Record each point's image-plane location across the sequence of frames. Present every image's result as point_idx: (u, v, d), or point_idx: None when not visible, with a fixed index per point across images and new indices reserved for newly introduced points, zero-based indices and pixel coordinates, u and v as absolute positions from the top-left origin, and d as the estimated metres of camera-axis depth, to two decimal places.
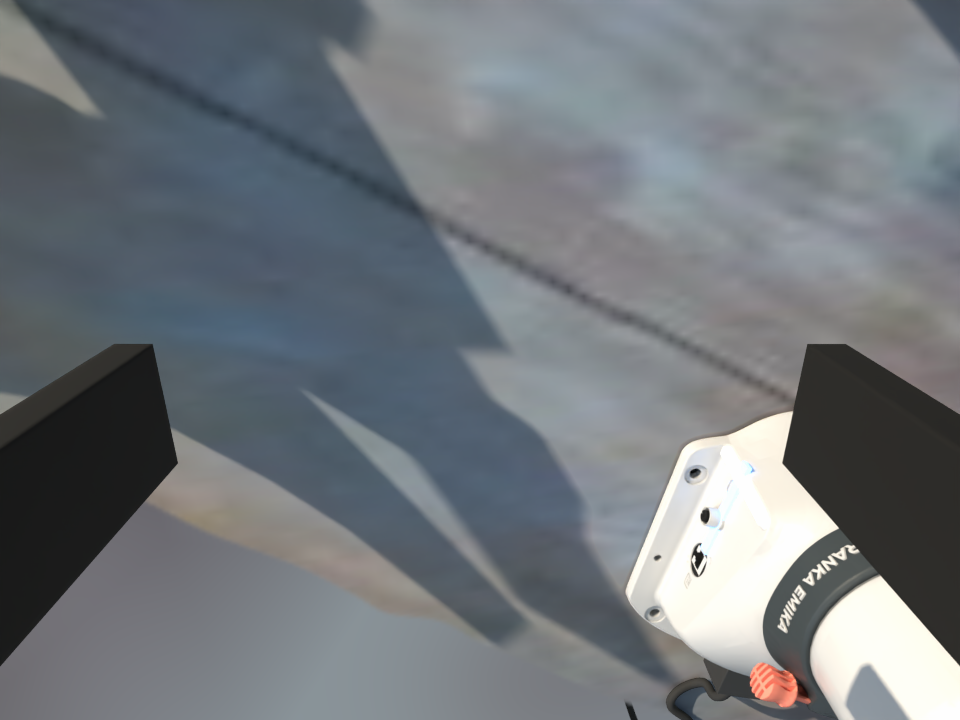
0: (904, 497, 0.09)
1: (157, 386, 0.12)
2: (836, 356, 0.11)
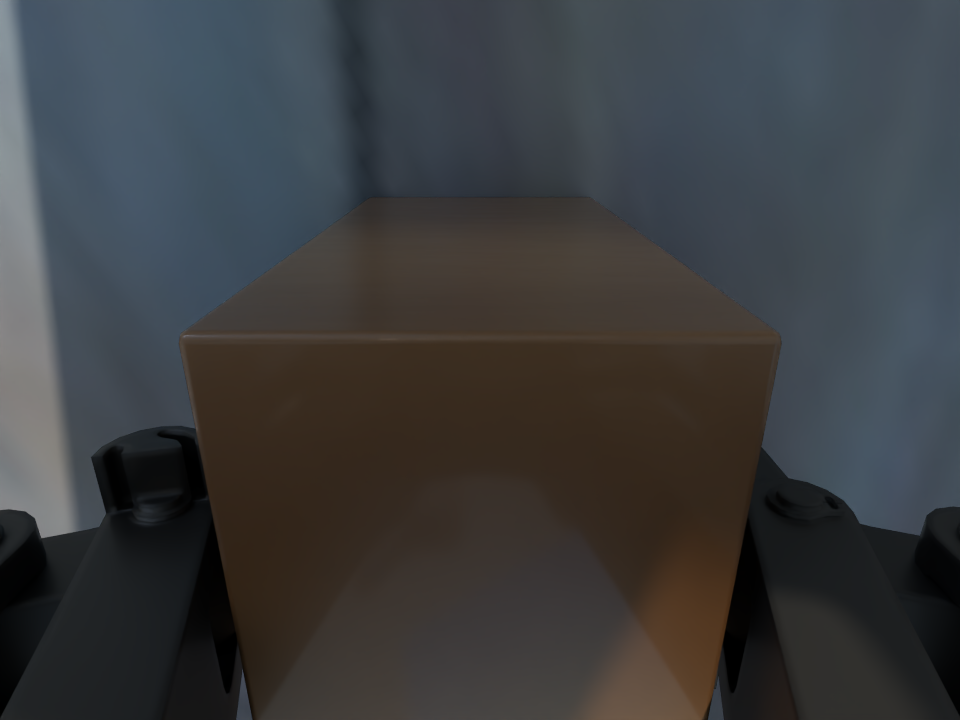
0: None
1: None
2: None
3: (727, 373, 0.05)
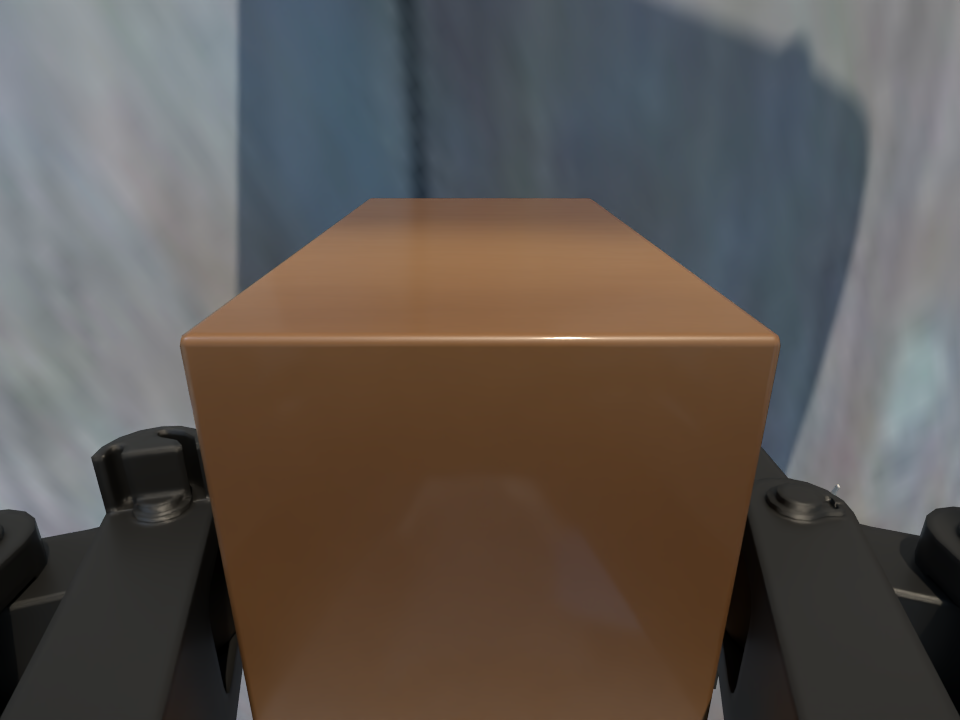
0: None
1: None
2: None
3: (725, 374, 0.05)
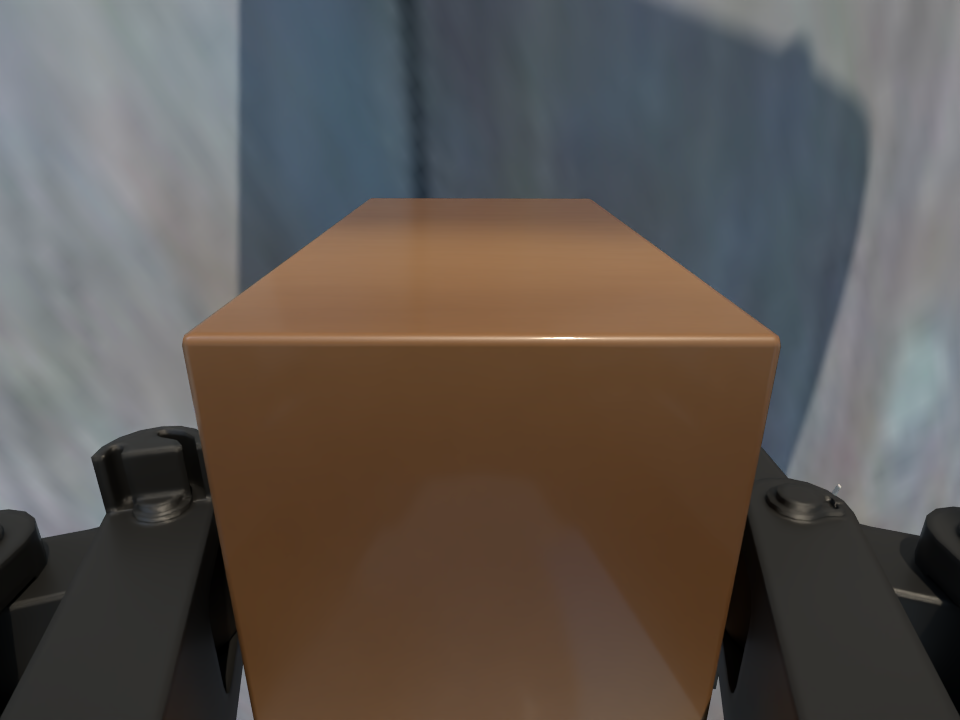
0: None
1: None
2: None
3: (726, 374, 0.05)
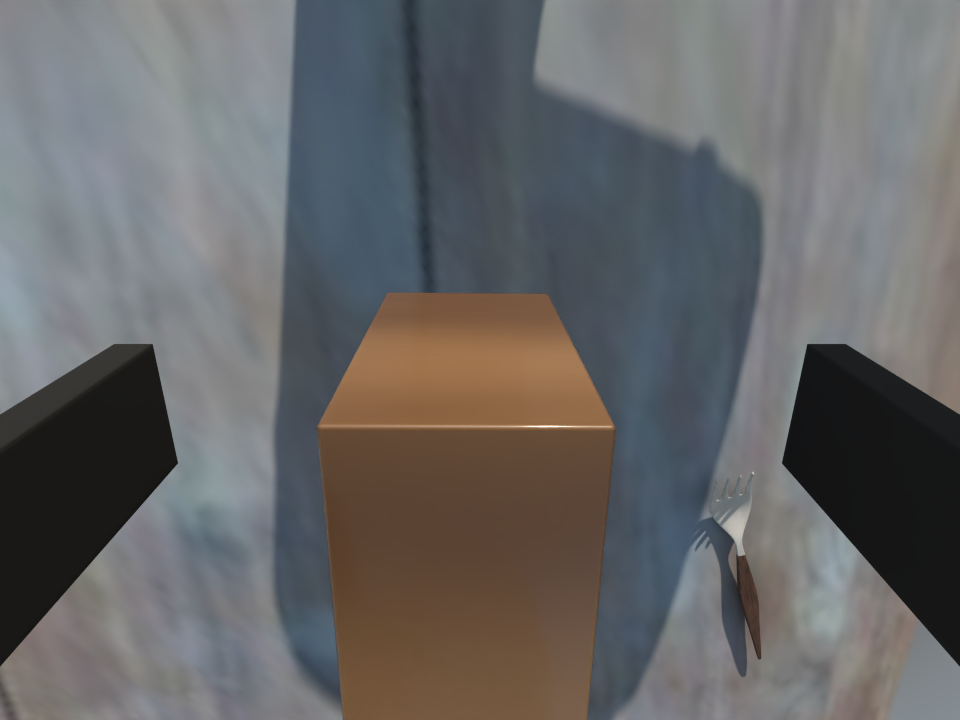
0: (904, 497, 0.09)
1: (157, 387, 0.12)
2: (836, 356, 0.11)
3: (589, 444, 0.10)
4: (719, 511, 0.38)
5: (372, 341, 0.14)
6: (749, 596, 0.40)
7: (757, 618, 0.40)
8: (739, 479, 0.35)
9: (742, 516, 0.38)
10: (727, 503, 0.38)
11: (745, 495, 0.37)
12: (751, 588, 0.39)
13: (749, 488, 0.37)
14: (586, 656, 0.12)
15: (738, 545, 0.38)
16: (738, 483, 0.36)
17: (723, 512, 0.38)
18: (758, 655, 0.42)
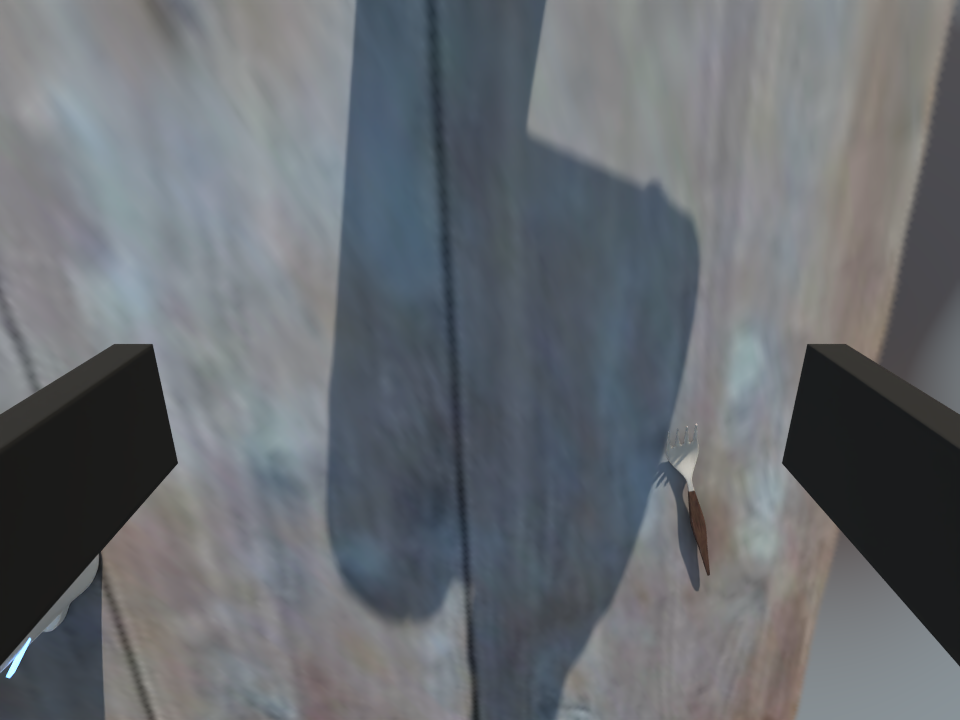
0: (904, 497, 0.09)
1: (157, 386, 0.12)
2: (836, 356, 0.11)
3: None
4: (673, 455, 0.49)
5: None
6: (698, 524, 0.51)
7: (705, 541, 0.51)
8: (686, 429, 0.46)
9: (692, 460, 0.49)
10: (679, 449, 0.48)
11: (693, 443, 0.48)
12: (700, 517, 0.50)
13: (695, 437, 0.47)
14: None
15: (689, 482, 0.49)
16: (686, 432, 0.47)
17: (677, 456, 0.49)
18: (707, 572, 0.53)
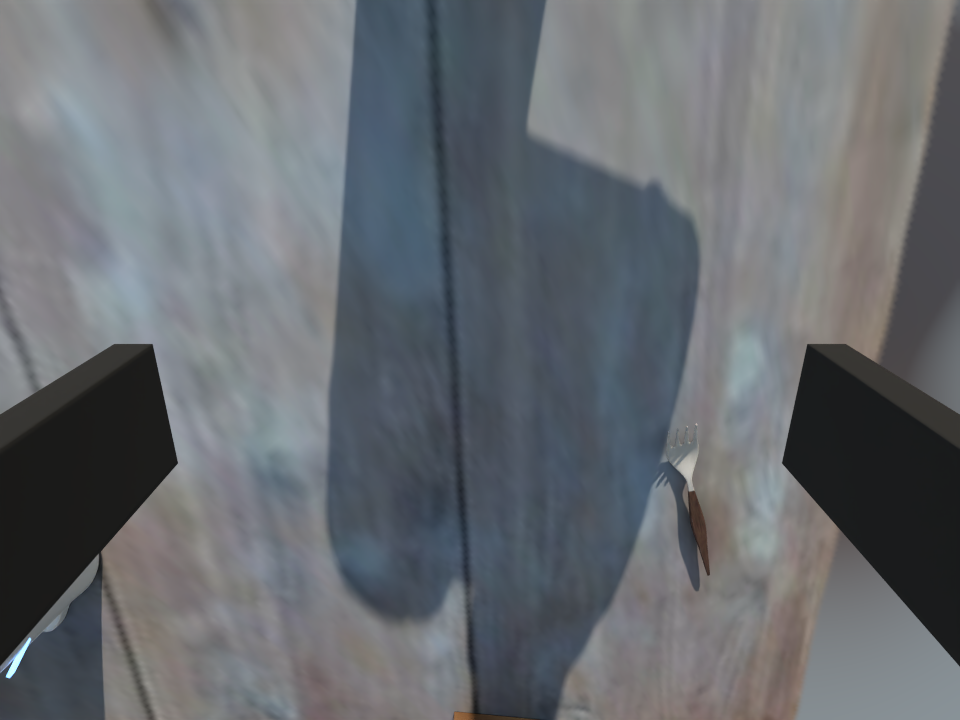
0: (904, 497, 0.09)
1: (157, 386, 0.12)
2: (836, 356, 0.11)
3: None
4: (673, 455, 0.49)
5: None
6: (698, 524, 0.51)
7: (705, 541, 0.51)
8: (686, 429, 0.46)
9: (692, 460, 0.49)
10: (679, 449, 0.48)
11: (693, 443, 0.48)
12: (700, 517, 0.50)
13: (695, 437, 0.47)
14: None
15: (689, 482, 0.49)
16: (686, 432, 0.47)
17: (677, 456, 0.49)
18: (707, 572, 0.53)
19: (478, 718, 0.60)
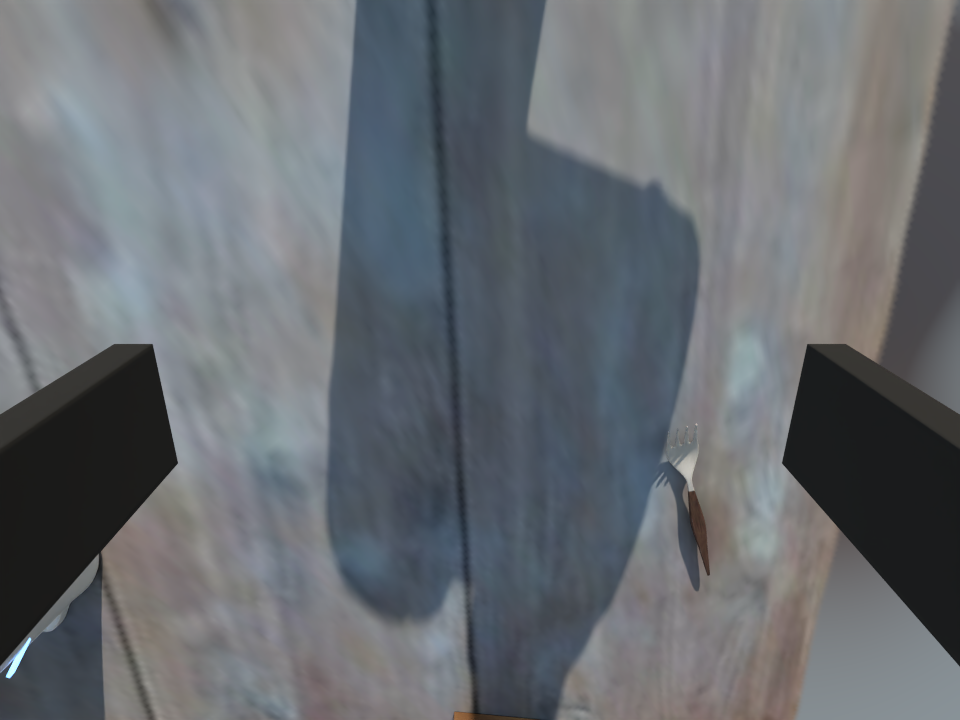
0: (904, 497, 0.09)
1: (157, 386, 0.12)
2: (836, 356, 0.11)
3: None
4: (673, 455, 0.49)
5: None
6: (698, 524, 0.51)
7: (705, 541, 0.51)
8: (686, 429, 0.46)
9: (692, 460, 0.49)
10: (679, 449, 0.48)
11: (693, 443, 0.48)
12: (700, 517, 0.50)
13: (695, 437, 0.47)
14: None
15: (689, 482, 0.49)
16: (686, 432, 0.47)
17: (677, 456, 0.49)
18: (707, 572, 0.53)
19: (478, 718, 0.60)
